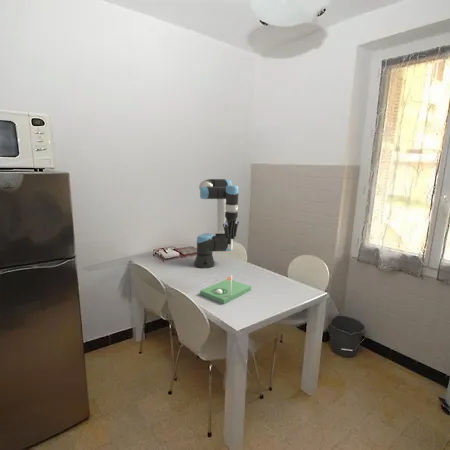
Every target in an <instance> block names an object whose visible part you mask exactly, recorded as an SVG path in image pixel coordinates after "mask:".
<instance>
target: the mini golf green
mask: <svg viewBox="0 0 450 450" xmlns="http://www.w3.org/2000/svg"><path fill="white" fill-rule="evenodd" d="M217 289H221V290H222V292H223V293H216V290H217ZM251 291H252V286H251V285H248V284H245V283H242V282H239V281H236V280H233V275H230V276H227V277H226V279H224V280H221V281H219V282H217V283H214V284H212V285H210V286H208V287H205V288H203V289H201V290H199V295H201V296H203V297H206V298H208V299H210V300H213V301H216V302H217V303H221V304H222V305H226V304H228V303H229V302H231V301H233V300H235V299H237V298H239V297H242V295H245V294H246V293H247V294H248V293H249V292H251Z"/></svg>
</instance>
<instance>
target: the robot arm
mask: <svg viewBox="0 0 450 450" xmlns="http://www.w3.org/2000/svg"><path fill="white" fill-rule="evenodd" d="M198 188H199V197H200V199H203V200H216V203H217V204H216V207H217V210H216V212H217V213H216V214H217V215H216V216H217V217H216V218H217V220H216V221H217V222H216V225H217V226H216V227H217V231H216V232H215V234H214V235H213V233H202V234H199V235H198V236H197V237H196V257H195V259H194V265H193V266H195V268H201V269H210V268H213V267H215V265H216V264H215V260H214V256H213V255H214V254H213V252H230V251H232V250H233V249H234V240H235V239H236V237H237V232H238V225H239V224H240V221H238V220H237V218H238V217H239V215H238V210H239V209H238V206H239V192H240V191H239V186H238V185H235V184H233V183H232V181H231V179H227V178H225V179H224V178H209V179H208V178H207V179H204V180H203V181H201V182H200V184H199V186H198Z"/></svg>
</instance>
